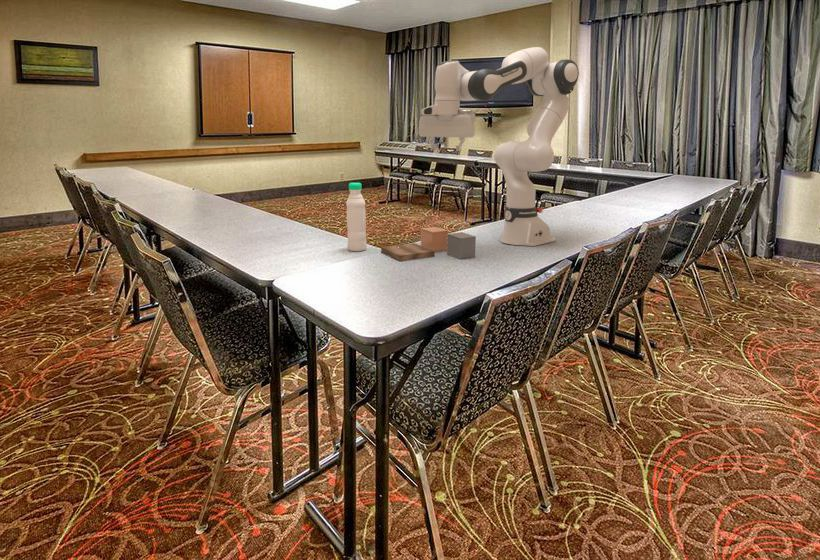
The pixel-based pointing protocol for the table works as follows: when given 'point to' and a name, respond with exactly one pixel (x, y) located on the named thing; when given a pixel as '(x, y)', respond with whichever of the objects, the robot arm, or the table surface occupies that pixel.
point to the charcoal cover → (461, 245)
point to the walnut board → (407, 251)
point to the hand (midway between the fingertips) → (445, 150)
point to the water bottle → (356, 218)
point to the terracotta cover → (434, 238)
